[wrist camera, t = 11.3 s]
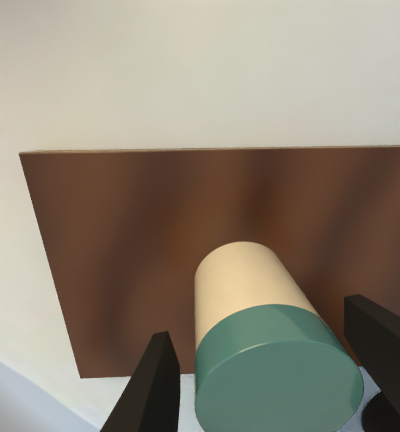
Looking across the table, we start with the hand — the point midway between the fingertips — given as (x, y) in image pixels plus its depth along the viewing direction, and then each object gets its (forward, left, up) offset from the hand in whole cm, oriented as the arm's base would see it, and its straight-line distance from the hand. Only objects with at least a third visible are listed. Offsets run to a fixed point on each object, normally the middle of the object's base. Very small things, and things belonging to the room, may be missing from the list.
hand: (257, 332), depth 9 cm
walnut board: (0, 0, -5) cm, 5 cm away
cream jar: (0, 0, -3) cm, 3 cm away
